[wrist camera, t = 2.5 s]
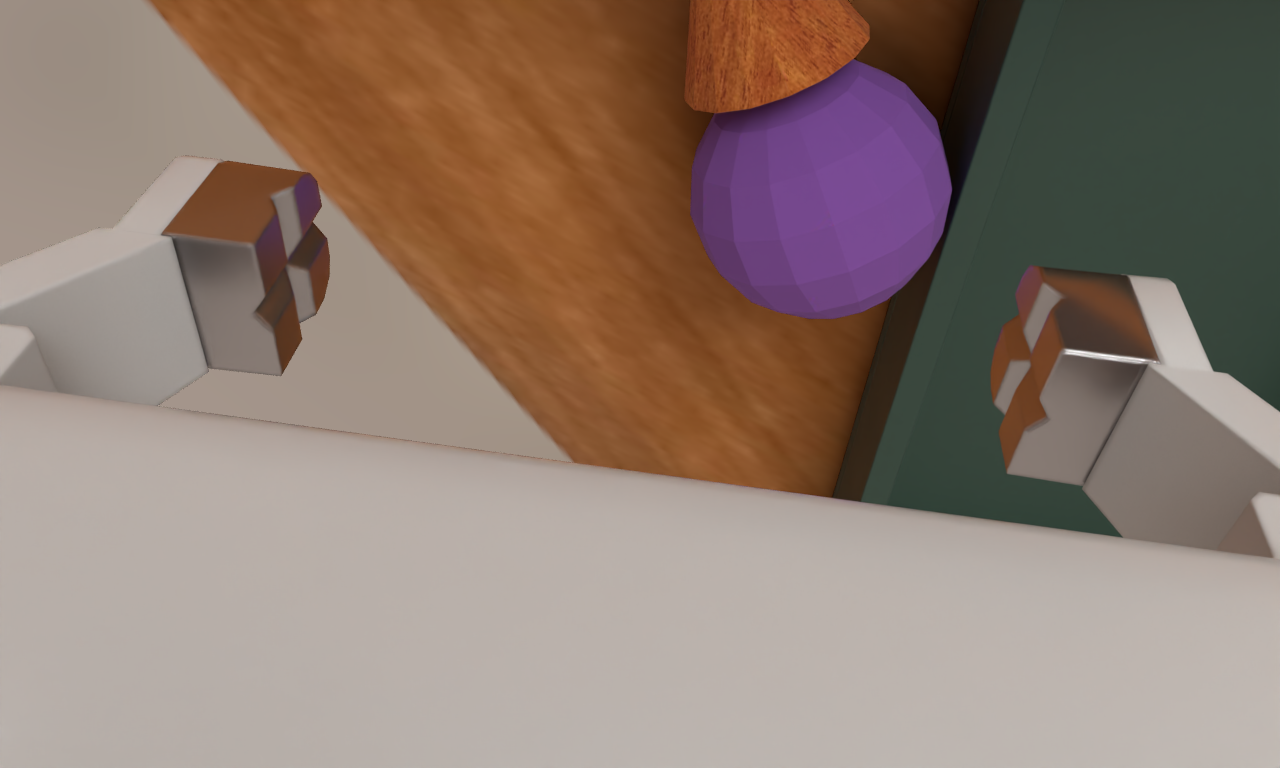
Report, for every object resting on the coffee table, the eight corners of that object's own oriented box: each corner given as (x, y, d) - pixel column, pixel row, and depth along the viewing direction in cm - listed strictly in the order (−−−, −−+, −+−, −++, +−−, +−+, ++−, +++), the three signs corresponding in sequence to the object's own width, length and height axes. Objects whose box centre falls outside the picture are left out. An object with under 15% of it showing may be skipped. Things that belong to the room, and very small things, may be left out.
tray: (1058, -269, 21) (1095, -220, 18) (1775, -194, 20) (1921, -133, 17) (817, 544, 38) (818, 628, 36) (1197, 595, 38) (1226, 684, 35)
